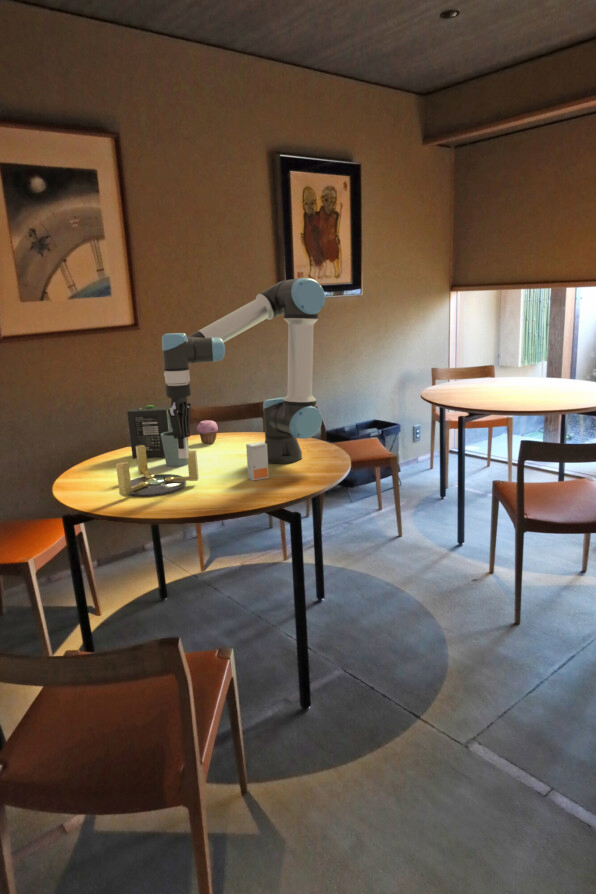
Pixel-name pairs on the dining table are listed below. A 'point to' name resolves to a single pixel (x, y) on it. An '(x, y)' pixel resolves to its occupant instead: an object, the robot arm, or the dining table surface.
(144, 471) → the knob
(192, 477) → the tan l-shaped bracket
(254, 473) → the skincare box
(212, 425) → the cupcake
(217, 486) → the dining table surface
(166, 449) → the grey cup
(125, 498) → the dining table surface
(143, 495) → the levelling plate
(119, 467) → the ball-tipped golden bracket
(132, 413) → the router
